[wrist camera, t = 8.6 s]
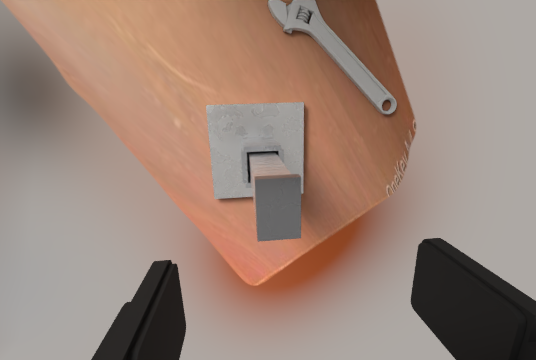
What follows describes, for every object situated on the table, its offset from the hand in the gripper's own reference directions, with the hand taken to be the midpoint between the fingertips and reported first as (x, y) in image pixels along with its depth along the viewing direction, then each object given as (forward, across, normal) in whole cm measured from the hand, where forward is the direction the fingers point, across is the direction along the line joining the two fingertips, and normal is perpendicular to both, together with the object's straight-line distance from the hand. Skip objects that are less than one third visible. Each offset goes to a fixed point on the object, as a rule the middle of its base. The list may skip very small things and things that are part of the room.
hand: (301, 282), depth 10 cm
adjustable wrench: (+33, -12, -13) cm, 37 cm away
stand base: (+32, 0, 0) cm, 32 cm away
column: (+26, 0, 0) cm, 26 cm away
